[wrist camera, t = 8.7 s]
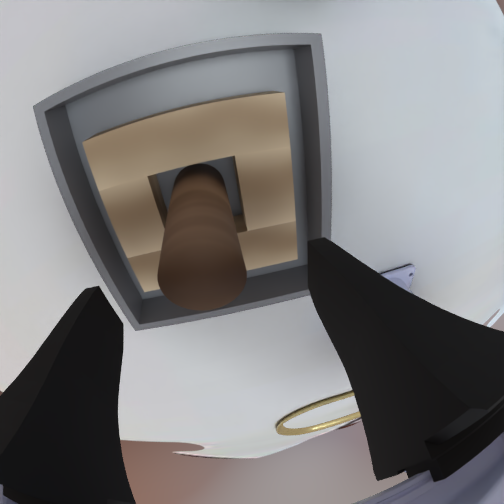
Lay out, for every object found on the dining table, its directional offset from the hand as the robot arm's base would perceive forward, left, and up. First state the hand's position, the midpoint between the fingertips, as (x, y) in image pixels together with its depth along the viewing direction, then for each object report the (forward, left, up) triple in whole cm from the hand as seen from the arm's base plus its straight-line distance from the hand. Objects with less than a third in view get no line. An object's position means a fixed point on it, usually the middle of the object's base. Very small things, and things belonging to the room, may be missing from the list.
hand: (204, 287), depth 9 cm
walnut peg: (0, 0, -8) cm, 8 cm away
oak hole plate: (0, 0, -9) cm, 9 cm away
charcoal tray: (0, 0, -9) cm, 9 cm away
